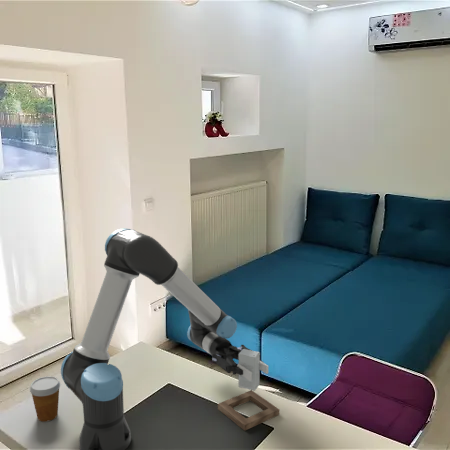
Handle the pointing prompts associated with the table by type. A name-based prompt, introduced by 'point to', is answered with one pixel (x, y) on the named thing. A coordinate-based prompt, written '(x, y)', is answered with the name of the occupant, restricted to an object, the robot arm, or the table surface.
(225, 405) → the square wooden frame
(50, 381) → the disposable coffee cup
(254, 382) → the skincare box
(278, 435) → the table surface
